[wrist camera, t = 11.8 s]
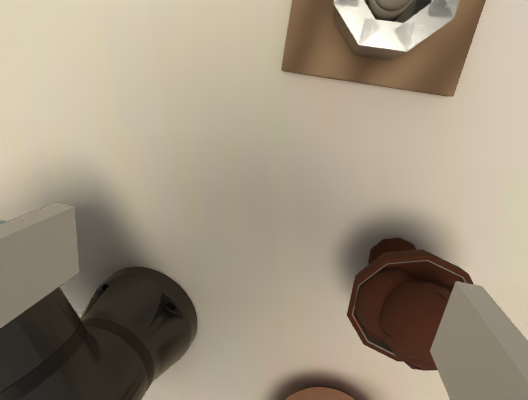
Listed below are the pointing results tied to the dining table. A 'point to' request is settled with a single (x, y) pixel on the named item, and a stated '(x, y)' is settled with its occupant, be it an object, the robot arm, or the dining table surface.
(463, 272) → the ice cream bowl
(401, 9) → the shaft stand
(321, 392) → the toy
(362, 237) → the dining table surface
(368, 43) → the ring
